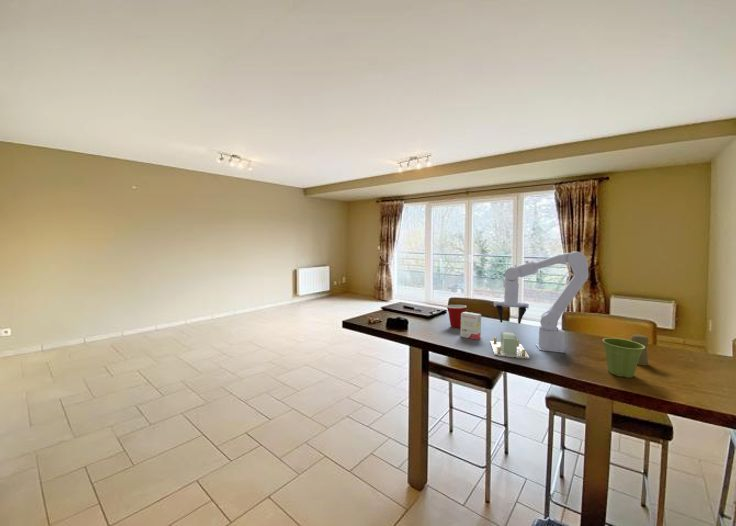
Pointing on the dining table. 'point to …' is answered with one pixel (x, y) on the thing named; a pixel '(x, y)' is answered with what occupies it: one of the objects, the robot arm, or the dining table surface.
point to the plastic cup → (455, 314)
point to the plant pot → (622, 356)
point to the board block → (508, 342)
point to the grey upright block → (643, 357)
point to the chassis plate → (499, 351)
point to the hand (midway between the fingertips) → (510, 322)
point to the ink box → (470, 325)
